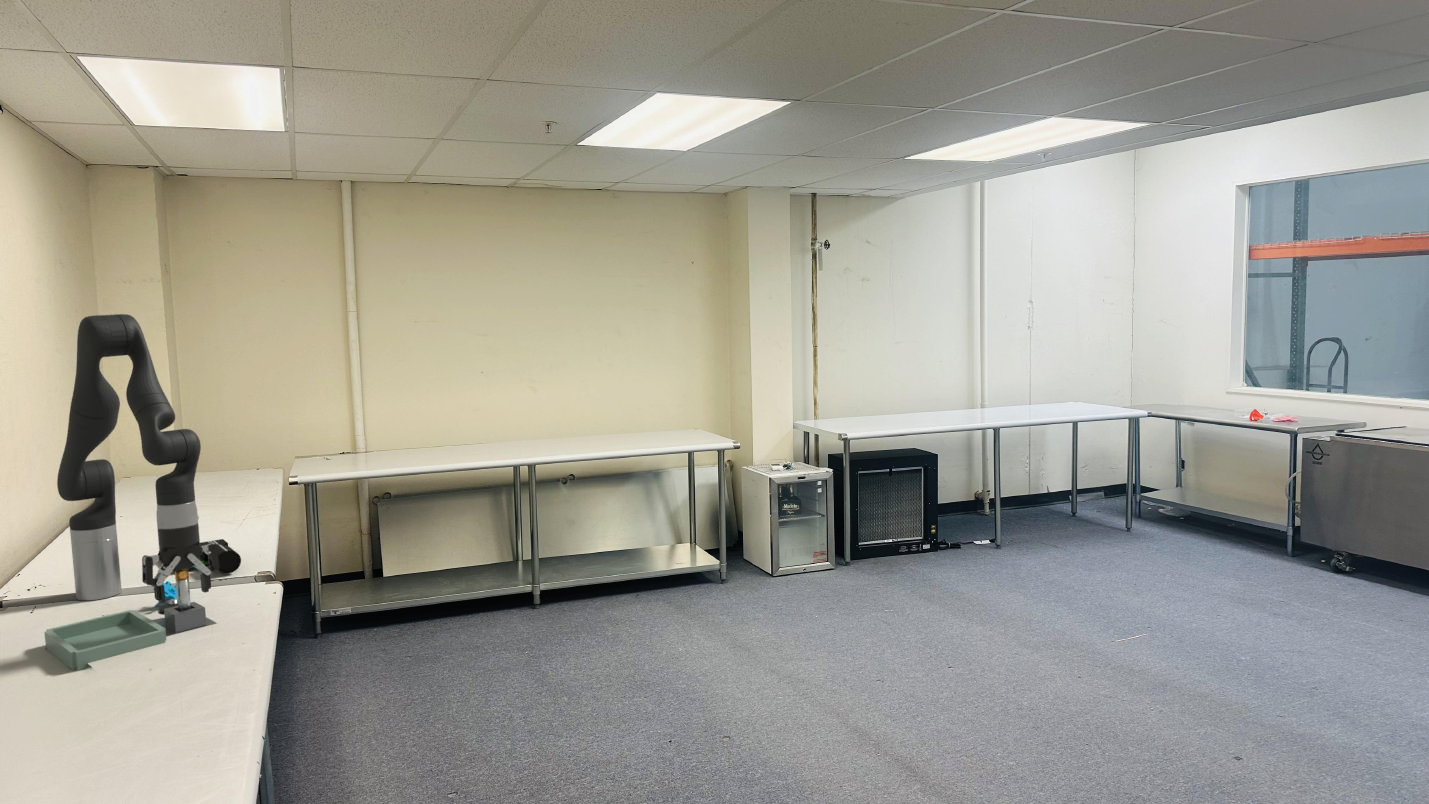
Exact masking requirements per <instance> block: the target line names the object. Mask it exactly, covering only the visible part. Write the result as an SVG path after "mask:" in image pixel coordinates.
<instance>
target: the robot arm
mask: <svg viewBox="0 0 1429 804" xmlns="http://www.w3.org/2000/svg"><path fill="white" fill-rule="evenodd" d="M76 338H77V343H76V367H75V377H74V378H75V379H74V384H73V385H74V387H73V391H72V397H71V401H70V409H69V416H68V424H67V425H68V426H67V433H66V441H65V444H64V450H63V453H62V457H61V461H60V464H59V468H58V473H57V480H56V482H57V483H56V484H57V485H56V487H57V491H58V492H57V493H58V495H59V496H60V498H62V499H63V500H64V501H68V502H77V501H84V500H90V499H91V500H93V499H94V500H93V502H92V503H91V504H90V505H89V506H88V507H86V508H85V509H83V510H81V511H79V512H77V513H75V514H73V515H72V516H71V517H70V518H69V523H68V525H69V535H70V545H71V554H72V555H71V556H72V567H73V568H72V569H73V579H74V589H75V599H76V600H79V601H96V600H101V599H102V600H103V599H107V598H111V597H114V596H117V595H118V594H121V592H122V581H121V579H122V578H121V567H120V565H121V563H120V555H119V554H120V553H119V543H118V531H117V530H118V529H117V519H116V517H117V516H116V515H117V509H116V508H117V507H116V477H115V470H114V468H113V465H112V464H111V462H110V461H109V460H108V459H104V458H103V459H92V460H87V458H88V457H89V456H90V454H91V453H92V452H94V450H95V449H96V448H97V447H99V446H100V445H101V444H102V443H104V441H105V440H106V439H107V438H108V437H109V436H110V434H112V432H114V430H115V428H116V426H117V425H118V424H117V423H118V419H119V413H120V407H121V406H120V405H121V401H120V397H119V395H118V393H117V391H116V390H115V389H114V387H113V386H112V385H111V384H110V382H108V380H107V379H106V378H105V376H104V375H103V373H102V371H101V369H100V365H101V364H100V362H101V360H102V359H103V358H108V357H109V358H110V357H120V356H121V357H122V356H128V357H129V359H130V360H131V363H132V370H131V373H130V374H131V375H130V377H129V380H128V383H127V387H126V391H125V392H126V393H125V394H126V395H125V396H126V397H125V398H126V401H127V404H128V407H129V409H130V411H131V413H132V415H133V416H134V418H135V420H136V423H137V425H138V429H139V435H140V441H141V450H142V451H141V452H142V456H143V457H144V459H145V460H146V462H148V463H149V464H151V465H153V466H164V465H165V466H167V465H171V464H175V466H174V469H173V470H172V471H170V472H169V473H167V474H164V475H162V476H160V477H158V478H157V479H156V480H155V495H156V496H155V498H156V526H157V528H156V529H157V537H158V549H159V550H158V553H157V554H153V555H146V554H145V555H143V556H142V559H141V563H142V564H141V565H142V566H141V568H142V583H143V584H146V585H147V586H151V585H153V586H154V587H153V586H152V587H153V593H154V599H155V600H156V601H158V602H160V603H163V602H165V590H164V585H162V584H163V582H164V583H165V581H166V580H167V579H168V577H170V576H171V574H172V572H174V573H175V572H176V571H180V570H182V569H188V570H190V569H192V568H195V569H197V570H198V571H199V572H200V576H199V577H200V588H201V589H200V590H201V592H203V593H209V592H210V589H211V588H212V580H211V579H212V577H211V574H213V572H215V571H218V570H219V568H220V567H219V560H218V553H217V546H216V545H215V544H213V543H207V545H204V546H201V545H200V543H201V541H200V540H201V539H200V527H199V526H200V525H199V515H198V508H197V503H196V494H195V477H196V472H197V467H198V463H199V460H200V455H201V450H202V449H201V448H202V447H201V440H200V438H199V435H198V434H197V433H196V432H195V431H194V430H192V429H189V428H181V429H173V430H165V429H168V428H169V427H171V425H173V423H175V420H176V414H175V411H174V408H173V407H172V405H171V403H170V401H169V400H168V398H167V396H166V394H165V392H164V390H163V388H162V386H161V384H160V381H159V379H158V376H157V372H156V369H155V366H154V363H153V359H152V356H151V353H150V350H149V346H148V343H147V341H146V339H145V335H144V332H143V329H142V328H141V326H140V323H139V322H138V321H137V319H136V318H135V317H134V316H132V315H130V314H127V313H126V314H125V313H120V314H119V313H117V314H116V313H115V314H102V315H101V314H99V315H98V314H97V315H88V316H85V317H84V318H82V319H81V321H80V322H79V325H78V329H77V337H76ZM163 430H164V431H163ZM203 551H204V552H205V554H208V561H209V566H208V567H206V566H205V565H204V564H203V563H202V562H201V561H200V560H199V559H198V558H199V557H200V555H201V554H202V552H203ZM157 561H159V562H160V563H161V566H160V567H159V569H158V570H157V573H156V575H155V576H154V566H156V563H157ZM193 566H194V567H193ZM191 567H192V568H191Z"/></svg>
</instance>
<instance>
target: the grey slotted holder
mask: <svg viewBox="0 0 1429 804" xmlns="http://www.w3.org/2000/svg"><path fill="white" fill-rule="evenodd" d="M156 608H157V613H158V614H159V615H164V617H163V618H159V619H154V620H153V621H154V622H155V623H157V624H159V625H160V626H162V627H164V628H165V629H166V638H167V637H169V636H174V635H179V634H181V633H182V634H183V633H185V632H190V631H193V630H197V629H201V628H205V627H209V626H212V625H216V624H218V623H217V622H216V621H214V620H212V619H210V618H209V617H207V615H206V614H207V613H206V607H205V606H204V605H201V604H199V603H197V602H195V601H191V609H188V610H184V611H180V612H179V611H178V601H177V599H170V600H167V601H165V602H163V603H159V604H158V605H157V607H156Z"/></svg>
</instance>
